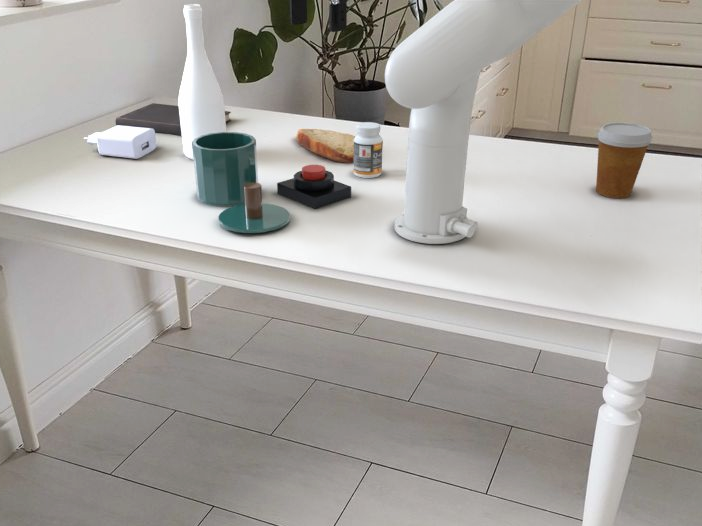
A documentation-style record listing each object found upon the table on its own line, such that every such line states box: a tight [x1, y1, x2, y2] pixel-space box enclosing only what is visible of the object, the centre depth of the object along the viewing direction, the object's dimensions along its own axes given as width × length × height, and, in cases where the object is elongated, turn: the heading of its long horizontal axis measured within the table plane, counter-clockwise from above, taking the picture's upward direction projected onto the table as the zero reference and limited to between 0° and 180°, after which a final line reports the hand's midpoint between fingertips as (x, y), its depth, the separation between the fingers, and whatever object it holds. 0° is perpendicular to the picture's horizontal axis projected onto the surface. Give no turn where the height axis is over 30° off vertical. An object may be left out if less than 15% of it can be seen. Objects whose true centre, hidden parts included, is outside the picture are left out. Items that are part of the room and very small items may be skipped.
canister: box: [192, 131, 259, 208], centre depth 140 cm, size 11×11×10 cm
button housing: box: [276, 169, 352, 210], centre depth 141 cm, size 11×9×4 cm
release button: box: [301, 164, 326, 180], centre depth 140 cm, size 4×4×2 cm
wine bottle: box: [177, 3, 227, 161], centre depth 156 cm, size 10×10×30 cm
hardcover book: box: [115, 102, 232, 136], centre depth 184 cm, size 16×23×2 cm
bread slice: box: [295, 128, 357, 164], centre depth 166 cm, size 18×18×4 cm
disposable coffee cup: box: [595, 122, 654, 199], centre depth 139 cm, size 10×10×12 cm
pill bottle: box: [353, 121, 384, 179], centre depth 150 cm, size 6×6×10 cm
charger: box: [83, 125, 157, 160], centre depth 166 cm, size 5×9×15 cm
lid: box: [217, 182, 291, 234], centre depth 129 cm, size 12×12×7 cm
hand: (317, 27), depth 122 cm, fingers open, 9 cm apart
